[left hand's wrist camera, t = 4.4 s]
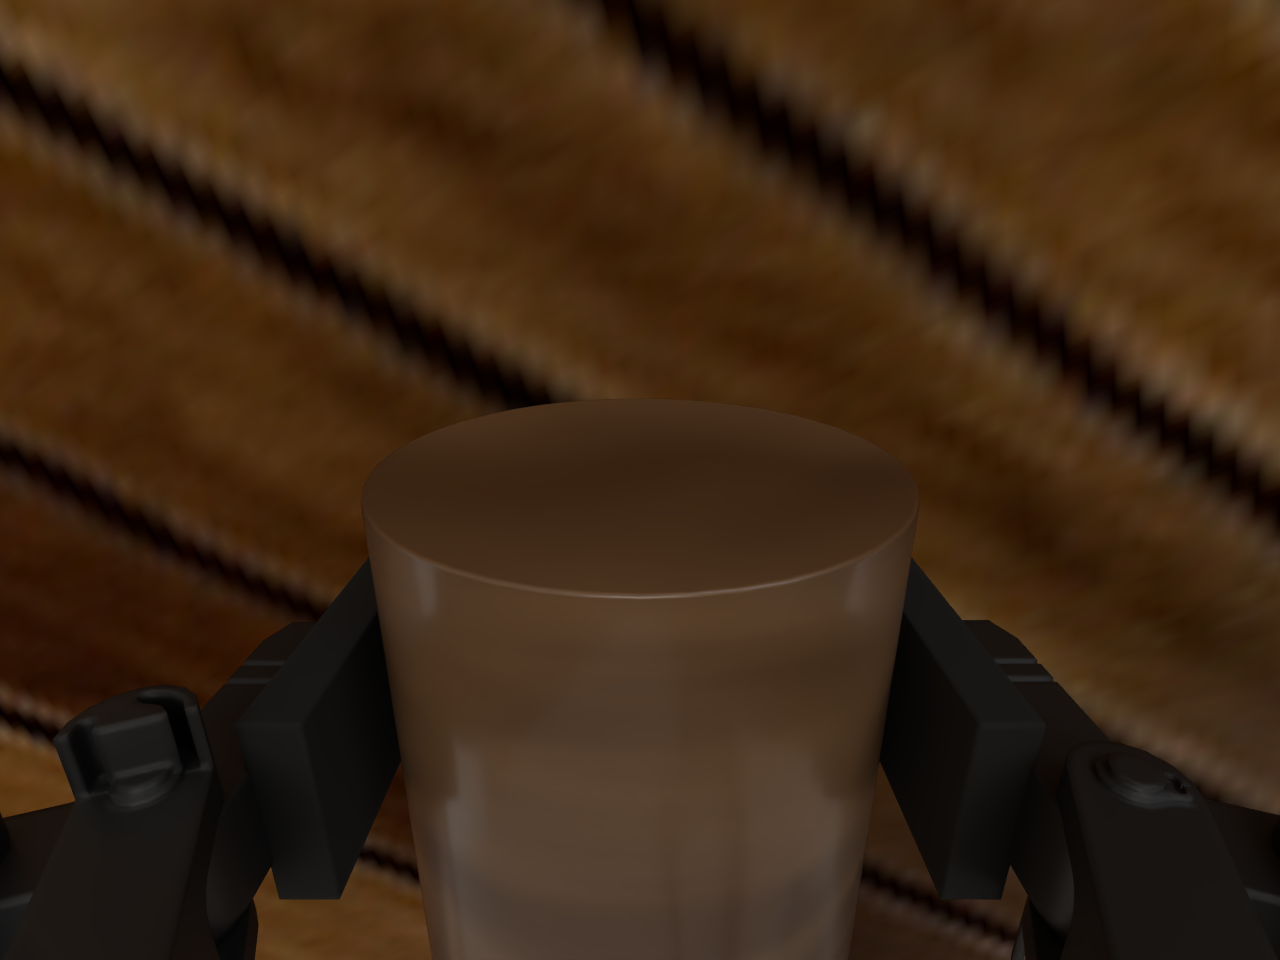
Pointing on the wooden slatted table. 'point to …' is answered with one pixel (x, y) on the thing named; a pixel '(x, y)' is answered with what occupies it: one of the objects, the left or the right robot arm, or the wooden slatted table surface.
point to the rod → (640, 675)
